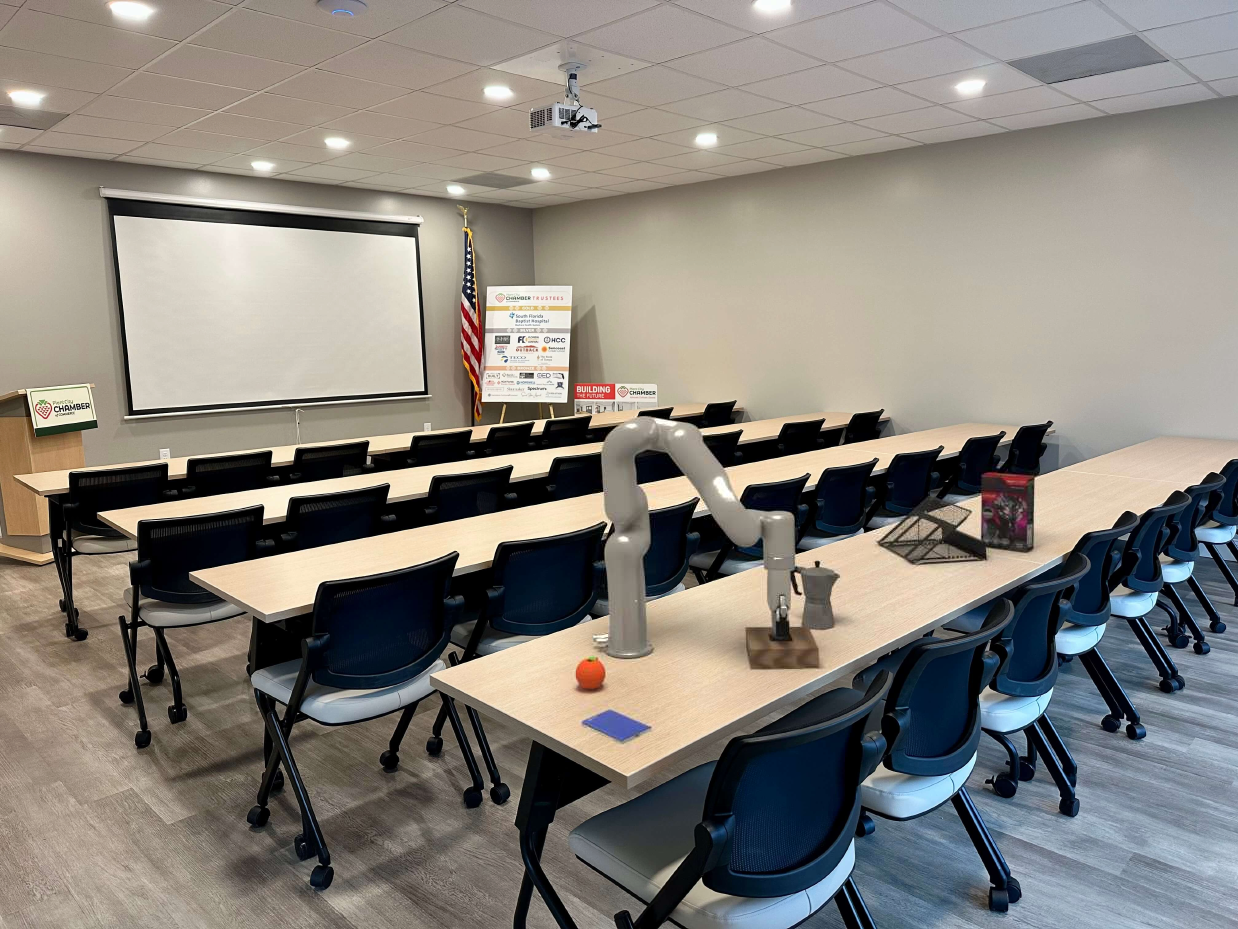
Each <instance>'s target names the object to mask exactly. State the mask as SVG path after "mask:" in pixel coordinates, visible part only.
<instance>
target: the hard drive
mask: <svg viewBox="0 0 1238 929" xmlns="http://www.w3.org/2000/svg"><path fill="white" fill-rule="evenodd" d="M582 725H585V726H587V727H589V728H591V729H594V730H595V731H597V732H600V733H602V734H604V735H606V736H608V737H610V738H612V739H614V740H616V741H615V742H616V743H619V744H620V745H624V744H626V743H627V742H630V741H632V739H633V740H635V739H637V738H638V737H637V736H639V737H641V736H643V735H645V734H647V732H648V733H650V732H652V729H653V728H652V726H650V725H647V724H644V723H642V722H640V721H638V720H636V719H633V718H631V717H629V716H626V715H624V714H622V713H619V712H618V711H615V710H612V709H607V710H605V711H602V712H600V713H598V714H595V715H593V716H590V717H588V718H586V719H583V720H582V721H581V726H582ZM595 731H594V732H595ZM597 732H596V733H597ZM606 736H605V737H606ZM608 737H607V738H608ZM636 737H637V738H636ZM610 738H609V739H610ZM634 738H635V739H634ZM612 739H611V740H612ZM614 740H613V741H614ZM625 742H626V743H625Z"/></svg>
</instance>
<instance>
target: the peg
mask: <svg viewBox="0 0 1238 929" xmlns="http://www.w3.org/2000/svg"><path fill="white" fill-rule="evenodd" d="M779 614H780V612H779ZM776 620H777V616H776V610H773V611H772V616H771V627H772V641H789V637H776Z"/></svg>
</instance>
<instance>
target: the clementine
mask: <svg viewBox="0 0 1238 929" xmlns="http://www.w3.org/2000/svg"><path fill="white" fill-rule="evenodd" d="M606 673H607V672H606V668H605V666H604V664H603V663H602V662H601V661H600V660H599V658H598V657H597V656H590V657H587V658H584V659H583V660H581V661H579V663H578V664H577V666H576V669H575V675H574V676H575V679H576V681H577V683H578V684H579V685H580V686H581V687H582V688H584V689H587V690H594V689H597V688H599V687H601V685H602V684H603V683H604V682H605V679H606Z"/></svg>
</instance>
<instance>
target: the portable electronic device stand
mask: <svg viewBox="0 0 1238 929" xmlns="http://www.w3.org/2000/svg"><path fill="white" fill-rule="evenodd" d="M955 512H956V513H955ZM972 513H973V511H972V510H971V509H968V508H965V507H963V506H960V505H957V504H955V503H951V502H949V501H946V500H943V499H940V498H937V497H935V496H932V495H930V496H927V497H926V498H925V499H924V500H923V501H921V502H920V504H919V505H917V506H916V507H915V508H914V509H913V510H912V511H910V513H907V515H906V516H905V517H904V518H903V519H902V520H901V521H899V522H898V523H897V524H896V525H895V526H894V527H892V528H891V529H890V530H889V531H888V532H886V534H885V535H884V536H883V537H882V538H880V539H879V540H875V542H876V544H878V545H879V546H881V547H882V548H883V547H884V548H885V549H887V550H889V551H891V552H892V553H894V554H896V555H898V556H900V557H902V558H903V559H904V560H906V561H907V562H909V563H911V564H912V565H915V564H916V566H925V565H939V564H941V565H942V564H955V563H956V564H957V563H970V562H972V563H973V562H984V561H986V562H987V561H988V556H987V547H986V542H985V541H983V540H981V538H978V537H976V536H973V535H971V534H968V533H966V532H963V531H961V530H959V529H958V528H959V527H961V525H962V524H963V523H965V522H966V521H967V520H968V517H969V516H970V515H972ZM939 545H947V547H948V548H947V549H948V552H947V554H948V555H947V556H944V555H943V554H940V553H939V552H936V551H934V549H936V548H937V547H938V546H939ZM950 547H952V548H954V549H956V550H959V551H961V552H963V553H965V554H967V555H952V556H951V555H950ZM931 552H933V553H934V554H937V555H939V556H934V557H926V556H928V555H929V554H930V553H931ZM970 558H971V559H970ZM952 559H954V560H952ZM921 561H923V562H921ZM917 563H918V564H917Z"/></svg>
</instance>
